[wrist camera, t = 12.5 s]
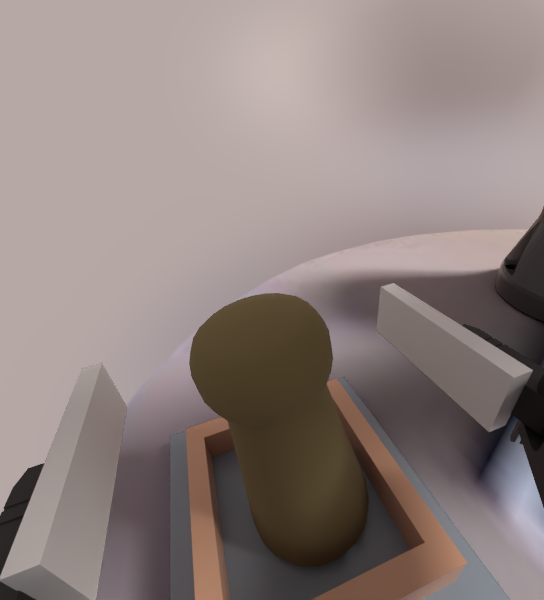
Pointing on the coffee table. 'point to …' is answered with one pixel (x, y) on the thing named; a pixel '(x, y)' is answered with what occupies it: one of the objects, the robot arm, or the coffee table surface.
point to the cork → (283, 424)
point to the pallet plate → (334, 575)
